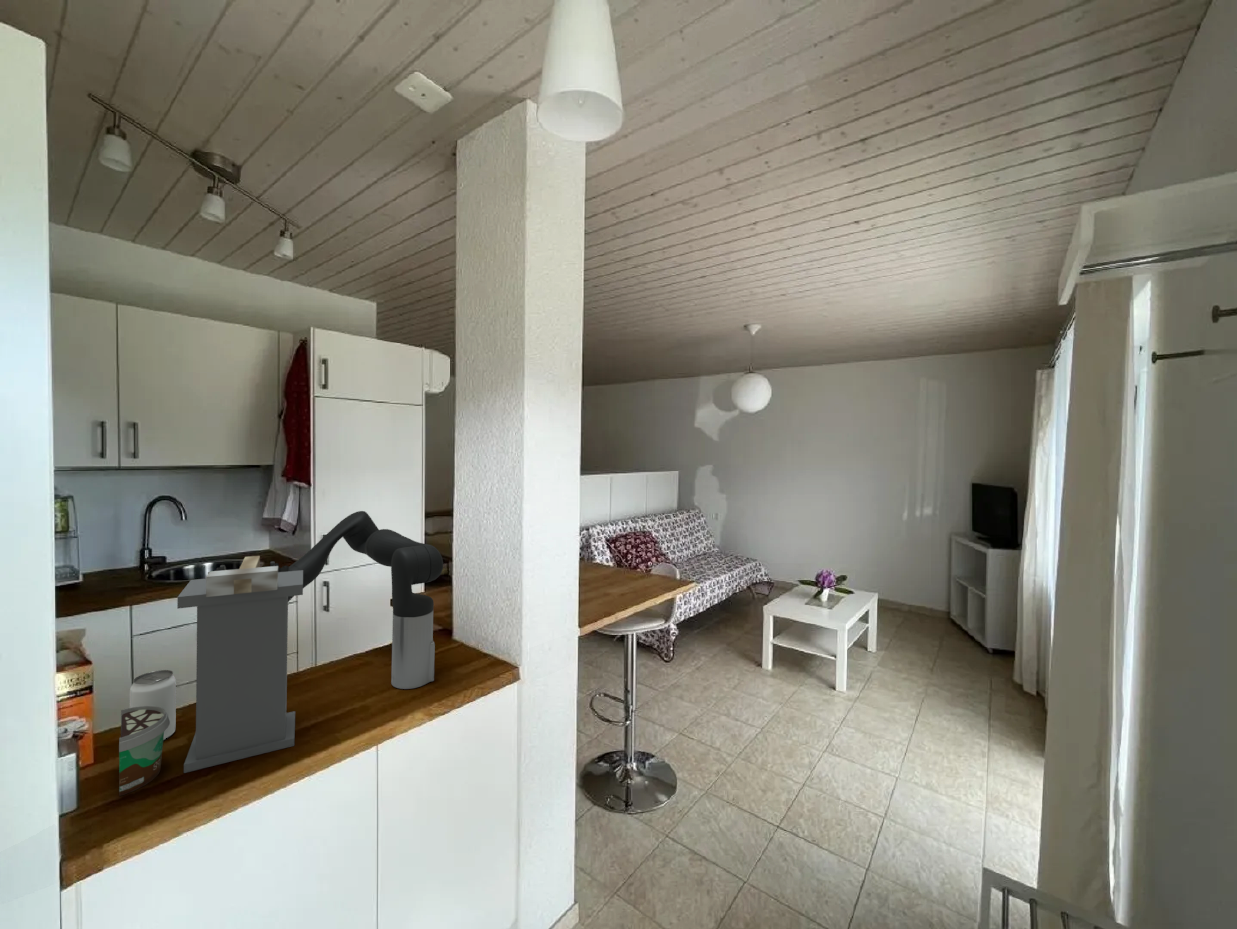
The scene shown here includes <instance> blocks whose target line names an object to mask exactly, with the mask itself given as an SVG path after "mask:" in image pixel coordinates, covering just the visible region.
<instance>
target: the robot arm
mask: <svg viewBox="0 0 1237 929" xmlns="http://www.w3.org/2000/svg"><path fill="white" fill-rule="evenodd" d="M342 538H343V539H344V541H345V542H346V543H347V545H348V546H349V548H351V550H353V551H355V552H357V553H359V554H362V555H366V556H367V557H368V558H370V559H372V561H374V562H376V563H378V564H379V565H382V566H385V567H390V574H391V601H392V630H391V631H392V632H391V633H392V634H391V635H392V636H391V637H392V638H391V639H392V640H391V673H390V674H391V675H390V676H391V682H390V683H391V685H392V686H393V687H394V688H397V689H401V690H403V689H404V690H409V689H416V688H419V687H423V686H425V685H426V684H428V683H430V682H431V683H432V682H434V681H435V657H436V656H435V654H436V651H435V649H436V647H435V646H436V644H435V641H434V638H433V636H434V634H433V633H434V607H435V606H434V599H433V598H432V597H431V596H430V595H429V596H428V595H426V594H421V593H415V592H413V589H412V588H413V585H414V586H415V585H421V584H426V583H430V582H432V581H435V580H437V579H438V578H439V577H440V576H441V575H442V573H443V569H444V560H443V556H442V554H441V553H440V551H439V550H438V549H437V548H436V546H433V545H432V544H427V543H423V542H419V541H415V540H413V539H411V538H409V537H406V536H404V535H402V534H400V533H399V532H396V530H395V531H394V530H392V529H388V528H382V529H379V528H378V526H377V524H375V522H374V521H373V519H372V517H371V516H370V515H369V513H367V512H366V511H363V510H359V511H356V512H353V513H351V514H349V515H348V516H346V517H345V518H343V519H341V520H340V522H339V523H337V524H336V525H335V526H333V527H332V529H331V530H329V531H328V532H327V533H326V534H325V535H324V536H323V537H322V538H321V539H320V540H318V542H317V543H316V544H315V545H314V546H312V548H311V549H309V550H308V551H307V552H306V553H304V555H302V556H300V558H299V559H297V560H296V561H295V562H294V563H292V564H290V566H289V565H284V566H283V565H282V567H280V566H279V565H280V564H279V563H277V562H276V563H275V560H274V561H270V566H269V567H271V566H278V572H288V571H299V570H303V589H304V588H306V587H307V586H309V585H310V584H311V583H312V582H313V581H315V580H316V579H317V578H318V577H319V575H320V574H321V572H322V571H323V569H324V567H325V566H326V563H327V560H328V558H329V556H330V554H331V552H332V551H333V549H334V547H335V546H336V544H337V543H338V542H339V541H340V540H341V539H342ZM222 570H227V567H226V565H225V564H220V566H219V567H217V568H216V569H215V571H222ZM209 572H210V571H208V572H207V575H208V574H209ZM294 597H295V596H288V603H289V602H290V601H291V600H292V599H293V598H294Z"/></svg>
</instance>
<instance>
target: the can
mask: <svg viewBox="0 0 1237 929" xmlns="http://www.w3.org/2000/svg"><path fill="white" fill-rule="evenodd" d="M132 682H133V683H132V684H131V686H130V689H129V708H133V707H140V706H157V707H161V708H163V709H164V710H165V712H166V713H167V715H168V718H169V721H170V724H169V726H168V728H167V729H166V730H165V731H164V737H163V741H166V740H167V739H169V738H170V737H171V736H172V735H173V734H174V733H175V732H176V725H177V724H176V715H177V713H176V711H177V709H176V708H177V706H176V705H177V680H176V677H175V676H174V671H173V670H170V669H160V670H155V671H149V672H146V673H143V674H139V675H138V676H136V677H135V678H133V679H132ZM166 738H167V739H166Z"/></svg>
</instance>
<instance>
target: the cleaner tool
mask: <svg viewBox="0 0 1237 929" xmlns="http://www.w3.org/2000/svg"><path fill="white" fill-rule="evenodd" d="M260 562H261V556H260V555H252V556H244V558H243V560H242V563H241V564H240V566H239V568H236V569H226V570H222V571H216V570H214V571H213V570H212V571H211V570H210V571H208V572H209V574H208V573H207V575H206V577H205V579H206V597H211V596H221V595H231V594H240V593H250V592H260V591H270V590H277V587H278V566H271V567H270V566H263V567H261V563H260Z"/></svg>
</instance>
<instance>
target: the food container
mask: <svg viewBox="0 0 1237 929" xmlns="http://www.w3.org/2000/svg"><path fill="white" fill-rule="evenodd" d="M169 724H170V721H169V718H168V715H167V713H166V712H165V710H164V709H163V708H161V707H157V706H140V707H133V708H130V707H127V708H123V709H120V737H119V739H118V741H119V742H118V762H119V763H118V764H119V766H118V770H119V771H118V774H119V775H118V777H119V778H118V780H119V781H118V782H119V784H118V786H119V787H118V788H119V789H118V793H119V794H118V795H119V797H121V796H124V795H126V794H130V793H132V792H134V791H136V790H138V789H140V788H143V787H144V786H146V785H147V784H149V783H150V782H152V781H153V780H155V778H157V776H158V775H159V774H160V772H161V765H162V756H163V747H164V746H163V745H164V740H163V737H164V731H165V730H166V729H167V728H168V726H169Z"/></svg>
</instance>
